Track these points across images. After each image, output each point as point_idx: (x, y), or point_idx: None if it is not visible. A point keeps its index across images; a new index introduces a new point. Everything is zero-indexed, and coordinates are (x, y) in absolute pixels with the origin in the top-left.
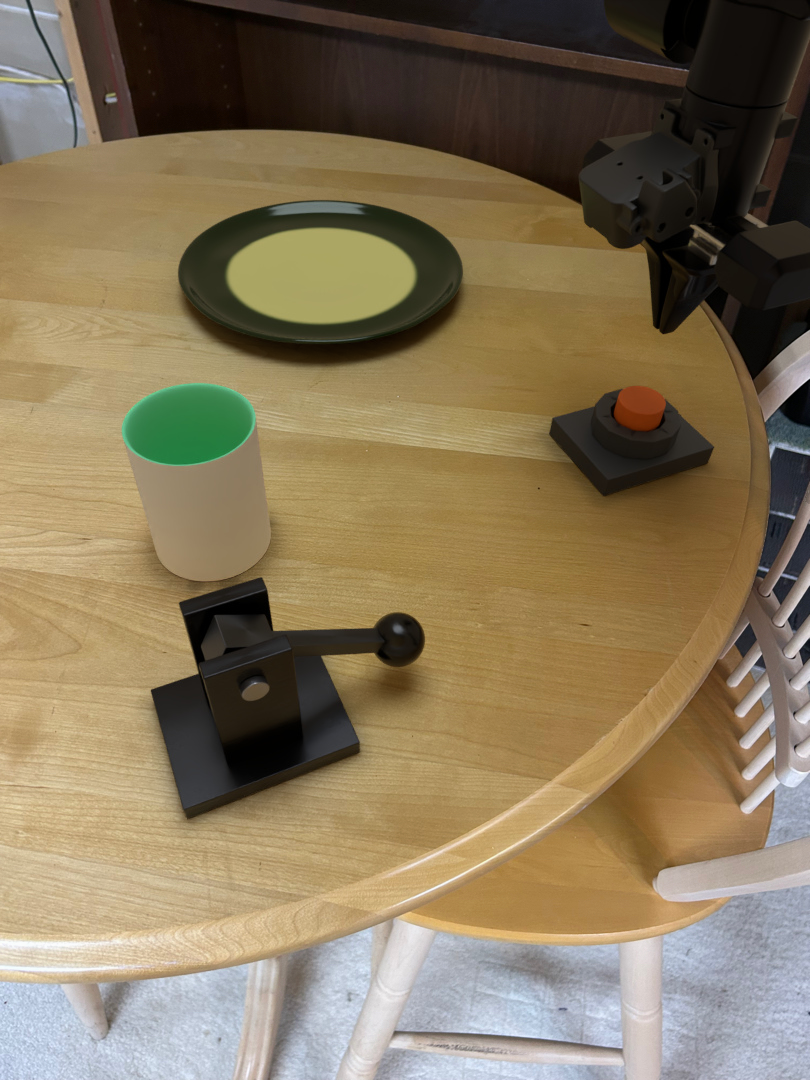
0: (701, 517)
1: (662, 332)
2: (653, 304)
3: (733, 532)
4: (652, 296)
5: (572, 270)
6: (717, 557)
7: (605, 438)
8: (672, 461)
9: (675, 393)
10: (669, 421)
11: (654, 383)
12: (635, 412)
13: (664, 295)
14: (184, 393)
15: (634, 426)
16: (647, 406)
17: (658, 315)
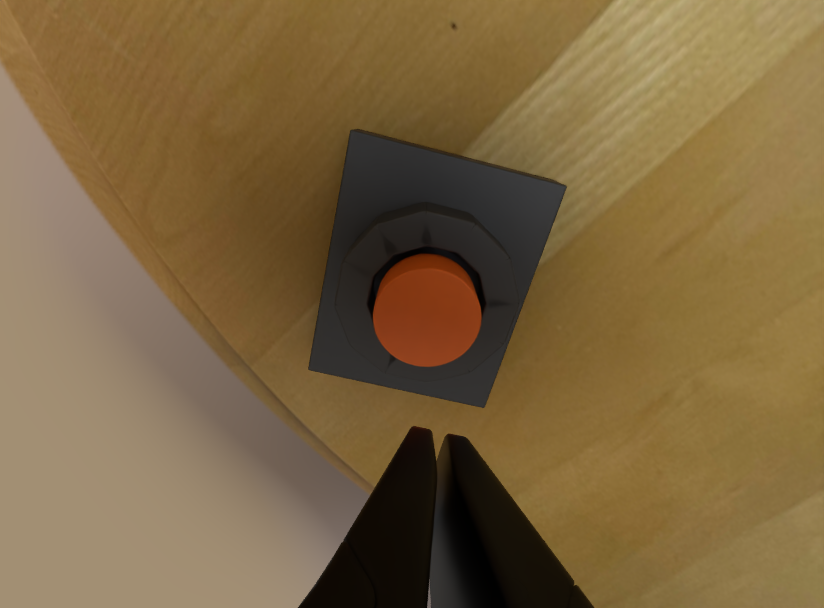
0: (223, 238)
1: (411, 427)
2: (495, 493)
3: (170, 253)
4: (516, 519)
5: (816, 559)
6: (134, 181)
7: (430, 206)
8: (323, 284)
9: (471, 442)
10: (370, 336)
11: (512, 437)
12: (404, 273)
13: (468, 552)
14: None
15: (400, 264)
16: (402, 310)
17: (453, 467)
